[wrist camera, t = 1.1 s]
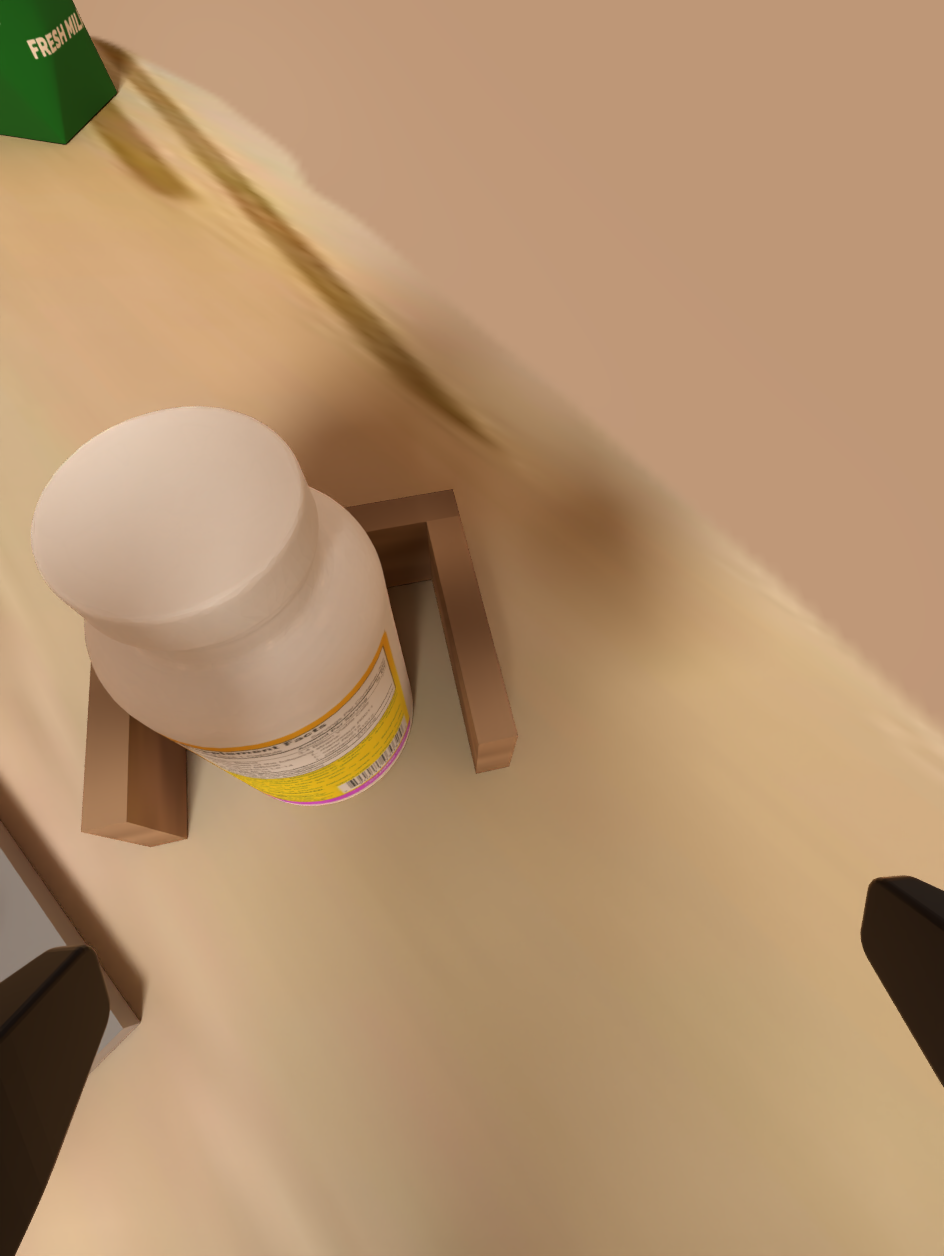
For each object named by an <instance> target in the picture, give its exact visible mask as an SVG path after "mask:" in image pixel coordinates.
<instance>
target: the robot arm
mask: <svg viewBox="0 0 944 1256" xmlns="http://www.w3.org/2000/svg"><path fill="white" fill-rule="evenodd" d="M861 942H862V946H863V949H864V952H865V954H866V956H867V958H868V960H869V962H870V963H871V965H872V967H873V969H874V970H875V972H876V974H877V975H878V977H879V979H880V980H881V982H882V984H883V986H884V987H885V989H886V991H887V992H888V994H889V996H890V998H891V999H892V1001H893V1003H894V1004H895V1006H896V1008H897V1009H898V1011H899V1013H900V1015H901V1016H902V1018H903V1020H904V1021H905V1023H906V1025H907V1026H908V1028H909V1030H910V1032H911V1033H912V1035H913V1037H914V1038H915V1040H916V1042H917V1043H918V1045H919V1047H920V1049H921V1050H922V1052H923V1054H924V1055H925V1057H926V1059H927V1060H928V1062H929V1064H930V1066H931V1067H932V1069H933V1071H934V1072H935V1074H936V1076H937V1077H938V1079H939V1081H940V1082H941V1084H942V1085H943V1087H944V891H943V890H941V889H938V888H936V887H934V886H932V885H930V884H928V883H925V882H923V881H921V880H919V879H917V878H914V877H911V876H891V877H879V878H876V879H874V880H873V881H872V882H871V883H870V884H869V887H868V891H867V897H866V903H865V908H864V914H863V920H862V926H861ZM109 1015H110V998H109V994H108V991H107V987H106V984H105V980H104V977H103V973H102V970H101V966H100V963H99V959H98V956H97V953H96V951H95V950H94V949H93V948H92V947H91V946H89V945H72V946H60V947H55V948H51V949H49V950H47V951H45V952H43V953H42V954H40V955H39V956H38V957H36V958H35V959H33V960H32V961H30V962H29V963H27V964H26V965H25V966H23V967H22V968H20V969H19V970H17V971H16V972H15V973H13V974H12V975H10V976H9V977H7V978H6V979H4V980H3V981H2V982H0V1256H15V1254H16V1252H17V1250H18V1248H19V1246H20V1244H21V1241H22V1239H23V1237H24V1235H25V1233H26V1231H27V1229H28V1226H29V1224H30V1222H31V1220H32V1218H33V1215H34V1213H35V1211H36V1209H37V1206H38V1204H39V1202H40V1200H41V1197H42V1195H43V1193H44V1190H45V1188H46V1185H47V1183H48V1180H49V1178H50V1176H51V1173H52V1171H53V1168H54V1166H55V1163H56V1160H57V1158H58V1155H59V1152H60V1150H61V1147H62V1144H63V1142H64V1139H65V1136H66V1134H67V1131H68V1128H69V1126H70V1123H71V1120H72V1118H73V1115H74V1112H75V1110H76V1107H77V1104H78V1102H79V1099H80V1096H81V1094H82V1091H83V1088H84V1086H85V1083H86V1080H87V1078H88V1075H89V1072H90V1070H91V1067H92V1064H93V1062H94V1059H95V1056H96V1054H97V1051H98V1048H99V1046H100V1043H101V1040H102V1038H103V1035H104V1032H105V1030H106V1027H107V1023H108V1020H109Z"/></svg>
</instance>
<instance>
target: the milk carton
mask: <svg viewBox="0 0 944 1256" xmlns="http://www.w3.org/2000/svg"><path fill="white" fill-rule="evenodd" d="M115 94H117V91H116V89H115V87H114V85H113V83H112V81H111V79H110V77H109V75H108V73H107V71H106V69H105V67H104V64H103V62H102V60H101V58H100V56H99V54H98V52H97V50H96V48H95V46H94V44H93V42H92V40H91V38H90V36H89V34H88V32H87V30H86V28H85V26H84V24H83V22H82V19H81V17H80V16H79V14H78V11H77V9H76V7H75V5H74V3H73V1H72V0H0V134H1V135H8V136H14V137H21V138H27V139H34V140H40V141H47V142H54V143H60V144H66V143H67V142H68V141H69V140H70V139H71V138H72V137H73V136H74V135H75V134H76V133H77V132H78V131H79V130H80V129H81V128H82V127H83V126H84V125H85V124H86V123H87V122H88V121H89V120H90V119H91V118H92V117H93V116H94V115H95V114H96V113H97V112H98V111H99V110H100V109H101V108H102V107H103V106H104V105H105V104H106V103H107V102H108V101H109V100H110V99H111V98H112V97H113V96H114V95H115Z"/></svg>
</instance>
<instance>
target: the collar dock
mask: <svg viewBox="0 0 944 1256" xmlns="http://www.w3.org/2000/svg"><path fill="white" fill-rule="evenodd" d="M72 945H86V943H85V942H84V940H83V939H82V937H81V936H80V935H79V933H78V932H77V930H76V929H75V927H74V926H73V924H72V923H71V922H70V920H69V919H68V917H67V916H66V914H65V913H64V911H63V910H62V909H61V907H60V906H59V904H58V903H57V901H56V900H55V898H54V897H53V896H52V894H51V893H50V891H49V890H48V888H47V887H46V885H45V884H44V883H43V881H42V880H41V878H40V877H39V875H38V874H37V872H36V871H35V870H34V868H33V867H32V865H31V864H30V862H29V861H28V859H27V858H26V857H25V855H24V854H23V852H22V851H21V849H20V848H19V846H18V845H17V844H16V842H15V841H14V839H13V838H12V836H11V835H10V833H9V832H8V831H7V829H6V828H5V826H4V825H3V823H2V822H1V820H0V982H2V981H3V980H4V979H6V978H7V977H9V976H10V975H12V974H13V973H15V972H16V971H17V970H19V969H20V968H22V967H23V966H25V965H26V964H27V963H29V962H30V961H32V960H33V959H35V958H36V957H38V956H39V955H40V954H42V953H43V952H45V951H47V950H49V949H51V948H55V947H60V946H72ZM100 966H101V965H100ZM101 970H102V973H103V977H104V980H105V984H106V987H107V991H108V994H109V998H110V1015H109V1020H108V1023H107V1027H106V1030H105V1032H104V1035H103V1038H102V1040H101V1043H100V1046H99V1048H98V1051H97V1054H96V1056H95V1059H94V1062H93V1064H92V1067H91V1070H90V1072H89V1074H90V1073H91V1072H92V1071H93V1070H94V1069H95V1068H96V1067H97V1066H98V1065H99V1064H100V1063H101V1062H102V1061H103V1060H104V1059H105V1058H106V1057H107V1056H108V1055H109V1054H110V1053H111V1052H112V1051H113V1050H114V1049H115V1048H116V1047H117V1046H118V1045H119V1044H120V1043H121V1042H122V1041H123V1040H124V1039H125V1038H126V1037H127V1036H128V1035H129V1034H130V1033H131V1032H132V1031H133V1030H134V1029H135V1028H136V1027H137V1026H138V1025H139V1024H140V1021H139V1020H138V1018H137V1017H136V1015H135V1014H134V1013H133V1011H132V1010H131V1008H130V1007H129V1005H128V1004H127V1002H126V1001H125V1000H124V998H123V997H122V995H121V994H120V992H119V991H118V989H117V988H116V987H115V985H114V984H113V982H112V981H111V979H110V978H109V976H108V975H107V974H106V972H105V971H104V969H103V968H102V966H101Z"/></svg>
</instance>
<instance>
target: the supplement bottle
mask: <svg viewBox="0 0 944 1256" xmlns="http://www.w3.org/2000/svg"><path fill="white" fill-rule="evenodd" d="M31 547H32V552H33V555H34V558H35V563H36V565H37V568H38V570H39V572H40V574H41V576H42V577H43V579H44V581H45V582H46V583H47V585H48V586H49V587H50V589H51V590H52V591H53V592H54V593H55V594H56V595H57V596H58V597H59V598H60V599H61V600H63V601H64V602H65V603H66V604H67V605H69V606H70V607H71V608H72V609H74V610H75V611H76V612H77V613H79V614H80V615H81V616H82V617H84V629H85V640H86V646H87V650H88V654H89V657H90V660H91V663H92V666H93V668H94V670H95V672H96V674H97V677H98V679H99V680H100V682H101V683H102V685H103V686H104V688H105V689H106V691H107V692H108V693H109V694H110V696H111V697H112V698H113V700H114V701H115V702H116V703H117V704H118V705H119V706H120V707H121V708H123V709H124V710H125V711H126V712H127V713H128V714H129V715H131V716H132V717H134V718H135V719H137V720H138V721H140V722H141V723H143V724H144V725H146V726H147V727H149V728H151V729H152V730H154V731H155V732H157V733H159V734H161V735H163V736H165V737H166V738H168V739H170V740H172V741H174V742H175V743H177V744H179V745H181V746H183V747H184V748H186V749H188V750H190V751H191V752H193V753H195V754H197V755H198V756H200V757H202V758H204V759H205V760H207V761H209V762H211V763H212V764H214V765H216V766H217V767H219V768H221V769H223V770H224V771H226V772H228V773H229V774H231V775H233V776H235V777H236V778H238V779H240V780H242V781H243V782H245V783H247V784H248V785H250V786H252V787H254V788H256V789H257V790H259V791H261V792H263V793H265V794H266V795H269V796H271V797H273V798H275V799H277V800H280V801H283V802H286V803H290V804H295V805H302V806H320V805H327V804H333V803H337V802H341V801H344V800H347V799H349V798H352V797H354V796H356V795H358V794H360V793H362V792H363V791H365V790H367V789H368V788H370V787H371V786H373V785H374V784H375V783H376V782H377V781H379V780H380V779H381V778H382V777H383V776H384V775H385V774H386V773H387V772H388V771H389V769H390V768H391V767H392V766H393V764H394V763H395V762H396V760H397V759H398V757H399V756H400V754H401V752H402V750H403V748H404V746H405V744H406V742H407V739H408V736H409V733H410V729H411V724H412V719H413V698H412V692H411V687H410V682H409V678H408V674H407V670H406V666H405V662H404V658H403V654H402V650H401V646H400V642H399V638H398V634H397V630H396V626H395V622H394V618H393V614H392V610H391V606H390V601H389V597H388V593H387V588H386V584H385V579H384V574H383V570H382V567H381V563H380V560H379V557H378V554H377V552H376V550H375V548H374V546H373V544H372V542H371V540H370V538H369V537H368V535H367V533H366V532H365V530H364V529H363V528H362V526H361V525H360V524H359V523H358V522H357V520H356V519H355V518H354V517H353V516H352V515H351V514H350V513H349V512H348V511H347V510H346V509H345V508H343V507H342V506H341V505H340V504H339V503H337V502H336V501H335V500H333V499H332V498H330V497H329V496H327V495H325V494H324V493H322V492H320V491H318V490H316V489H314V488H312V487H309V486H308V484H307V481H306V479H305V476H304V474H303V472H302V469H301V467H300V465H299V462H298V460H297V458H296V456H295V455H294V453H293V451H292V450H291V449H290V447H289V446H288V445H287V443H286V442H285V441H284V440H283V439H282V438H281V437H280V436H279V435H278V434H277V433H276V432H275V431H273V430H272V429H271V428H269V427H268V426H267V425H265V424H263V423H262V422H260V421H258V420H256V419H255V418H253V417H250V416H248V415H245V414H242V413H239V412H236V411H233V410H228V409H223V408H219V407H206V406H188V407H175V408H169V409H163V410H159V411H154V412H150V413H146V414H143V415H140V416H137V417H134V418H130V419H128V420H126V421H124V422H121V423H119V424H117V425H115V426H112V427H110V428H108V429H106V430H105V431H103V432H101V433H100V434H98V435H96V436H95V437H93V438H92V439H90V440H89V441H88V442H86V443H85V444H83V445H82V446H81V447H80V448H79V449H77V450H76V451H75V452H74V453H73V454H72V455H71V456H70V457H69V458H68V459H67V460H66V461H65V462H63V464H62V465H61V466H60V467H59V468H58V470H57V471H56V472H55V473H54V475H53V476H52V478H51V479H50V481H49V482H48V484H47V485H46V487H45V488H44V489H43V492H42V494H41V496H40V498H39V501H38V503H37V506H36V509H35V512H34V515H33V519H32V527H31Z"/></svg>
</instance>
